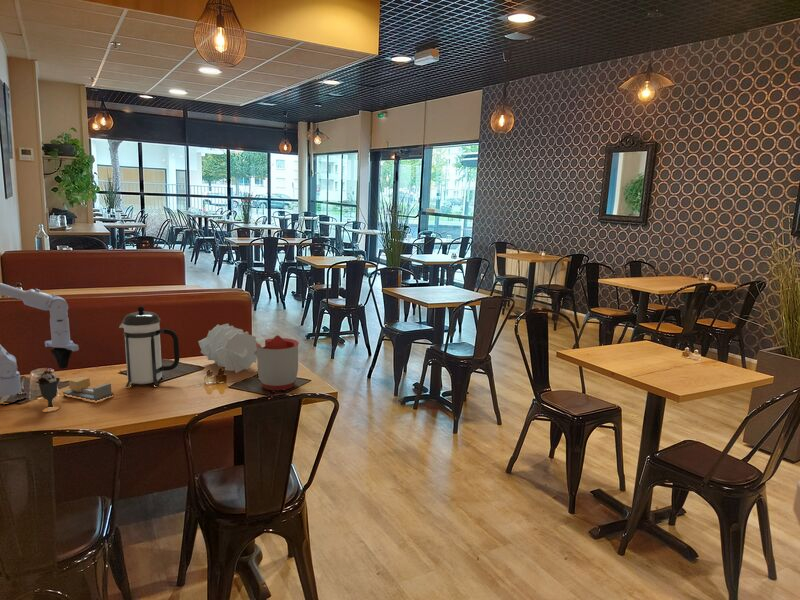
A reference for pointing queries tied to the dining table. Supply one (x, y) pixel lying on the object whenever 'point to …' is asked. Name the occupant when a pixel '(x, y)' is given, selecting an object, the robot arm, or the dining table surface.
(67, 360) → the robot arm
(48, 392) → the sundae
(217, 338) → the white ruffled oval piece
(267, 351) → the citrus juicer
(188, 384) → the dining table surface
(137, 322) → the coffee press
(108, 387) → the track
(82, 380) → the sliding carriage
